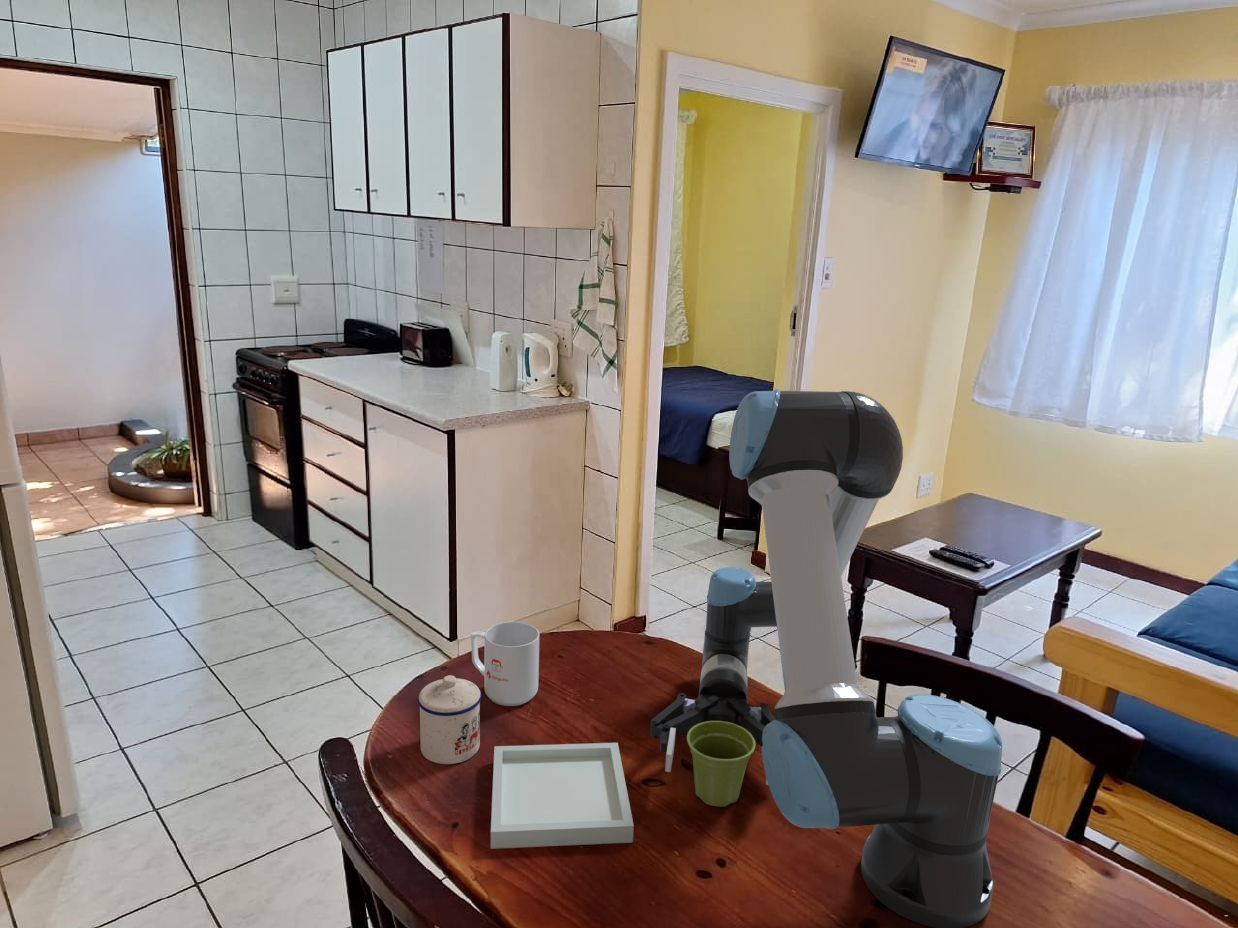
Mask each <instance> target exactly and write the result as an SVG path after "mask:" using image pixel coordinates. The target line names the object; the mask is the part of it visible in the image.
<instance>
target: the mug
mask: <svg viewBox="0 0 1238 928" xmlns="http://www.w3.org/2000/svg"><path fill="white" fill-rule="evenodd" d="M479 637H480V638H482V639H484V657H483V658H484V660H483V662H484V664H483V662H482V661H481V660H480V658H479V647H478V645H479V643H478V638H479ZM470 640H471V641H470V643H471V661H472V664H473V666H474V667H475V669H477V671H479V673H480V674H481V675H482V676H483V677H484V678H483V679H484V686H483V687H484V693H485V694H486V696H487V697H488V698H489V699H490V700H491V701H492V702H494V703H495V704H497V705H500V706H503V707H518V706H521V705H524V704H526V703H528V702H529V701H531V700H532V699H533V698H534V697H535V696H536V694H537V692H538V691H539V690H538V689H539V673H540V672H539V671H540V668H539V667H540V631H539V630H538V628H537V627H536V626H534V625H531V624H530V623H525V622H523V621H522V622H521V621H520V622H519V621H505V622H499V623H495V624H493V625H491V626H490V627H488V628H487V629H486V631H473V632H472V633H471V634H470Z"/></svg>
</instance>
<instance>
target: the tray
mask: <svg viewBox="0 0 1238 928" xmlns="http://www.w3.org/2000/svg"><path fill="white" fill-rule="evenodd" d="M493 752H494V753H493V768H492V769H493V770H492V771H493V775H492V792H491V793H492V795H491V819H490V849H491V850H493V849H495V850H496V849H516V848H517V849H518V848H537V847H538V848H539V847H558V846H560V847H562V846H581V845H583V846H584V845H586V846H587V845H602V844H605V845H607V844H626V843H628V844H629V843H634V829H635V828H634V827H635V826H634V821H633V814H632V810H631V804H630V800H629V799H630V798H629V795H628V789H627V785H626V784H627V783H626V779H625V773H624V768H623V763H622V758H621V752H620V747H619V742H596V743H565V744H563V743H562V744H558V743H557V744H533V745H532V744H531V745H530V744H528V745H526V744H525V745H498V746H497V745H496V746H494V749H493Z"/></svg>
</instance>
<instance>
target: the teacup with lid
mask: <svg viewBox="0 0 1238 928" xmlns="http://www.w3.org/2000/svg"><path fill="white" fill-rule="evenodd" d="M481 700H482V693H481V690H480V688H479V687H478V686H477V685H476V684H475V683H474V682H472V681H470V680H467V679H464V678H458V677H457V678H456V676H454V675H452V674H450V675H446V676H445V675H444V677H443V678H442V679H438V680H435V681H433V682H430V683H428V684H427V685H425V686H424V687H423V688H422V689H421V691H420V692H419V694H418V697H417V704H418V705H419V726H420V727H419V730H420V731H419V732H420V737H419V738H420V751H421V752H420V753H421V754H422V755H423V757H424V758H426V759H427V760H428V761H430V762H433V763H434V764H435V763H436V764H440V765H454V764H458V763H462V762H465V761H468V760H469V759H471V758H472V757H474V755H476V754H477V752H478V750H479V748H480V744H481V743H480V742H481V741H480V739H481V737H480V736H481V733H480V732H481V731H480V730H481V727H480V726H481V722H480V719H481V718H480V715H481V713H480V712H481V710H480V708H481V707H480V706H481V704H480V703H481Z"/></svg>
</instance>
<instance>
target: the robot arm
mask: <svg viewBox="0 0 1238 928" xmlns="http://www.w3.org/2000/svg"><path fill="white" fill-rule="evenodd" d="M728 451H729V454H728V455H729V459H728V460H729V466H730V470H731V474H732V475H733V477H735V478H738V479H739V480H746V481H747V490H748V491H747V492H748V496H749V497H750V498H751V499H753V500H755V501H756V502H757V503H758V504H759V505H761V509H762V510H761V511H762V516H763V524H764V533H765V534H764V535H765V541H766V549H767V558H768V564H769V573H770V580H771V581H756V577H755V576H754V574H753V573H752V572H751V571H749V570H747V569H743V568H737V567H733V566H730V567H727V566H726V567H723V568H722V567H720V568H719V569H716V570H714V571H713V572H712V573H711V575H710V577H709V584H708V590H707V591H708V592H707V596H706V601H707V602H706V619H705V630H704V638H703V639H704V641H703V647H702V648H703V649H702V665H701V666H702V667H701V670H700V678H699V679H700V680H699V691H698V697H696V699H690V698H687V695H686V693H684V692H679V693H678V694H677V696H676V699H675V700H674V701H673V702H671V704H669V705H668V706H666V708H664V709H663V710H662V711H661V712H659V713H658V714H657V715H656V716H655V717H653V718H652V719H651V721H650V729H649V730H650V733H649V734H650V738H651V739H656V738H660V741H659V743H660V744H659V751H660V752H661V753H665V754H666V755H665V767H664V768H665V769H664V771H665V772H666V773H671V771H672V765H673V758H674V753H675V752H674V751H675V744H676V739H677V738H679V737H682V736H684V735H686V734H688V732H689V730H690V729H691V728H692V727H693V726H695V725H697V724H699V723H702V722H706V721H724V722H730V723H733V724H736V725H738V726H741V727H743V728H744V729H746V730H747V731H748V732H750V733H751V735H752V736H753V738H754V739H755V744H757V745H759V746H760V747H761V755H762V763H763V769H764V774H765V785H767V786H769V790H770V793H771V795H772V798H773V800H774V802H775V804H776V806H777V807H778V810H779V811H780V813H781V814H782V815H783V817H784V818H785V819H786V820H787V821H788V822H789V823H791V824H792V825H793V826H796V827H798V828H803V829H820V828H821V829H826V830H834V829H837V828H846V827H860V826H862V827H863V826H874V828H873V829H872V831H871V833H870V834H869V836H868V837H867V839H866V840H865V842H864V844H863V848H862V854H861V855H862V856H861V862H860V870H861V874H862V878H863V880H864V883H865V884H866V887H867V888H868V889H869V890H870V892H871V893H872V894H873V895H874V896H875V898H876V899H877V900H878V901H879V902H880V903H882V904H883V905H884V906H885V907H886V908H888V909H889V910H891V911H892V912H894V913H895V914H897V915H899V916H901V917H903V918H905V919H906V920H909V921H911V922H913V923H916V924H920V925H922V926H926V927H929V928H930V927H931V928H968V927H970V926H973V925H976V924H977V923H979V922H980V921H982V920H983V919H984V918H985V917H986V916H987V914H988V912H989V910H990V908H991V902H992V898H993V893H994V881H993V880H994V879H993V875H992V870H991V864H990V859H989V854H988V850H987V844H986V842H987V837H988V830H989V827H990V826H989V825H990V819H991V814H992V809H993V805H994V800H995V795H996V788H997V785H998V780H999V775H1001V772H1002V755H1003V741H1002V737H1001V736H1000V733H999V731H998V729H997V728H996V727H995V725H994V724H992V723H991V722H990V721H989V720H988V719H987V718H986V717H984V716H983V715H982V714H980V713H979V712H977V710H974V709H972V708H971V707H968V706H967V705H964V704H962V703H960V702H957V701H955V700H953V699H949V698H946V697H943V696H938V695H933V694H932V695H931V694H920V693H919V694H913V695H909V696H907V697H905V699H903V700H901V702H900V705H898V707H897V715H895V716H882V717H879V716H878V717H877V713H876V705H875V701H874V698H872V697H871V696H870V695H869V694H868V693H867V692H865V691H864V690H862V688H860V686H859V683H858V678H857V677H858V676H857V671H856V664H855V658H854V652H853V651H854V650H853V645H852V638H851V632H850V626H849V619H848V612H847V606H846V600H845V599H846V598H845V593H844V588H843V587H844V586H843V582H842V576H843V573H844V572H845V570H846V568H847V565H848V564H849V561H850V560H851V557H852V555H853V553H854V551H855V549H856V547H857V546H858V543H859V541H860V539H861V537H862V535H863V533H864V531H865V529H866V527H867V525H868V523H869V521H870V518H871V516H873V512H874V510H875V509H876V506H877V505H878V502H879V501H880V499H883V498H885V497H887V496H888V495H889V494H891V492H892V491H893V488H894V487H895V484H896V482H897V480H898V478H899V475H900V473H901V470H902V466H903V459H904V447H903V441H902V435H901V432H900V429H899V427H898V425H897V422H896V420H895V419H894V418H893V416H892V415H891V414H890V412H889V411H888V409H886V408H885V407H884V405H882V404H881V403H880V402H878V401H877V400H875V399H874V398H872V397H871V396H868V395H866V394H865V393H864V394H863V393H861V392H856V391H849V390H848V391H846V390H844V391H817V390H816V391H815V390H814V391H812V390H809V391H807V390H801V391H799V390H780V389H779V388H778V389H774V390H764V391H763V390H762V391H758V390H757V391H752V392H749V393H748V394H746V395H745V396H744V397H743V398H742V399H741V401H740V403H739V405H738V406H737V408H736V411H735V415H734V418H733V422H732V427H731V432H730V439H729V450H728ZM771 627H773V628H774V627H775V628H776V630H777V638H778V647H779V654H780V662H781V669H782V670H781V671H782V677H783V685H784V692H783V695H782V697H781V698H779V700H778V701H777V702H776V704H775V706H774V708H773V709H774V714H773V713H772V711H770V710H771V709H770V708H769V704H768V703H766V702H760V704H759V707H758V706H751V705H750V704H749V702H748V663H749V661H748V660H749V649H750V648H749V647H750V639H751V630H752V628H771Z"/></svg>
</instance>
